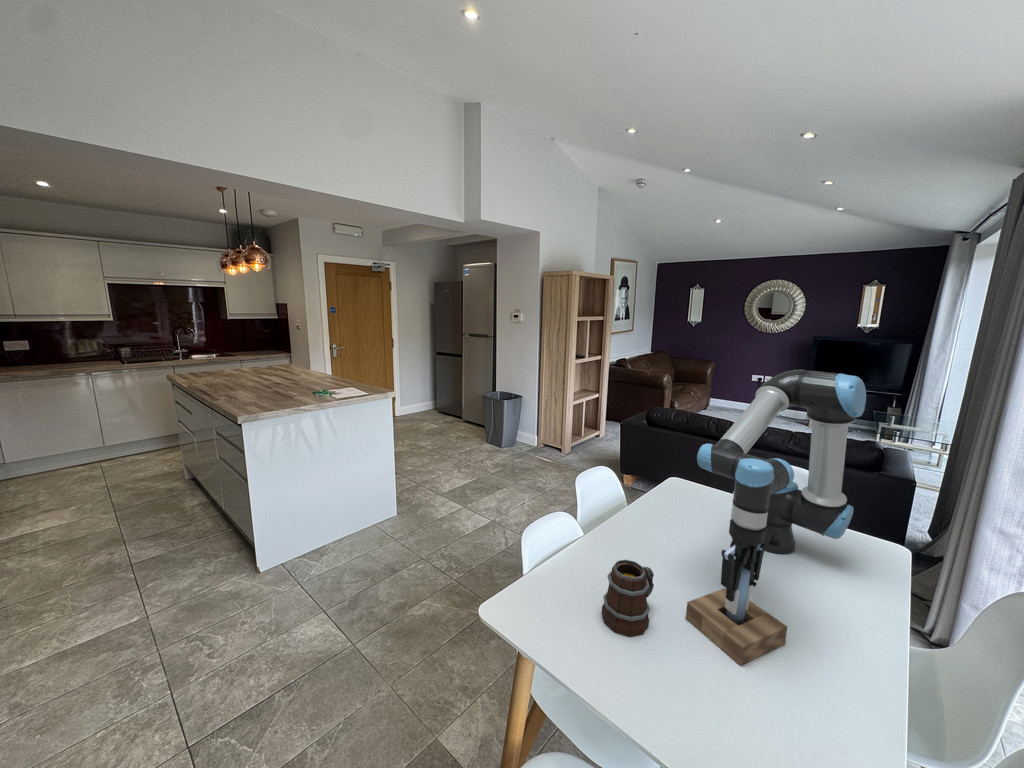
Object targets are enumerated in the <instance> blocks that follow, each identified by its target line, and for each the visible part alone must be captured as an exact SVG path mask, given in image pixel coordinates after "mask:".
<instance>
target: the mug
mask: <svg viewBox="0 0 1024 768" xmlns="http://www.w3.org/2000/svg"><path fill="white" fill-rule="evenodd" d="M654 576H655V575H654V571H653V570H652V568H651V567H648V566H642V565H641V564H640V563H638V562H637V561H634V560H630V559H622V560H621V559H620V560H617V561H616V562H615V563H614V564H613V566H612V567H611V571H610V572H609V573H607V579H608V587H607V591H606V593H605V594H603V604H602V606H601V615H602V619H603V620H602V621H603V623H604V624H605V625H606V626H607V627H608V628H609V629H611V630H612V632H614V633H616V634H620V635H623V636H626V637H629V638H631V637H636V636H640V635H644V634H645V633H646V630H647V629H648V628H649V625H650V618H649V612H650V610H651V609H650V606H649V602H648V599H647V598H649V596H650V595H651V594H652V593H653V590H654V588H655V585H654V583H653V579H654Z"/></svg>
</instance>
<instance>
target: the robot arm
mask: <svg viewBox="0 0 1024 768" xmlns="http://www.w3.org/2000/svg"><path fill="white" fill-rule="evenodd" d="M754 396H755V398H754V399H753V400H752V401H751V403H750V404H749V405H748V406H747V407H746V409H745V410H743V412H742V413H741V414H740V416H739V417H738V418H737V419H736V421H734V422H733V424H732V425H731V426H730V427H729V429H728V430H727V431H726V432H725V433H724V434H723V436H722V437H721V438H720V439H719V440H718V441H717V442H716V444H713V443H705V444H704V443H703V444H702V445H701V446H700V447H699V448H698V452H697V455H696V461H697V465H698V466H699V468H701V469H703V470H706V471H708V472H710V473H711V474H716V475H720V476H721V477H722V476H723V477H726V478H729V479H732V480H734V488H733V489H734V490H733V495H732V496H733V497H732V498H733V499H732V506H731V512H730V513H731V514H730V521H729V528H728V534H729V536H730V537H731V539H732V540H731V543H730V545H729V549H727V550H725V549H722V550H721V557H722V559H721V562H722V563H721V573H720V574H721V576H720V585H721V586H723V587H724V588H727V590H726V602H725V608H726V609H727V610H729V611H730V612H731V613H733V614H734V615H735V614H736V613H737V606H738V598H739V591H740V590H738V589H737V588H738V584H739V580H740V576H741V573H742V569H743V566H744V567H745V568H747V569H749V570H750V572H751V573H750V581H749V588H748V595H747V603H746V610H747V609H748V605H749V600H750V597H751V590H752V587H754V588H755V587H757V585H758V584H757V582H758V581H759V580H760V575H761V569H762V564H763V563H762V562H763V558H764V553H765V551H766V552H769V553H773V554H777V555H778V554H779V555H787V554H792V553H793V552H794V551H795V549H796V540H795V536H794V531H793V525H796V526H798V527H801V528H804V529H805V530H809V531H811V532H814V533H816V534H819V535H821V536H824V537H829V538H830V539H835V540H837V539H840V538H842V536H844V534H845V533H846V530H847V528H848V527H849V525H850V523H851V520H852V518H853V515H854V507H853V505H851V504H847V502H848V498H847V496H846V495H845V494H844V493H843V492H842V490H843V481H844V480H843V479H844V472H845V471H844V470H845V460H846V459H845V458H846V452H847V449H846V448H847V439H848V430H849V425H850V424H853V423H854V422H855V421H856V419H857V418H860V417H861V416H862V415H863V414H864V412H865V409H866V403H867V390H866V385H865V383H864V381H863V380H862V379H861V378H860V377H859V376H857V375H850V374H845V373H836V372H827V371H826V372H825V371H816V370H809V369H807V370H806V369H792V370H787V371H785V372H781V373H779V374H777V375H775V376H772V377H771V378H769V379H768V380H766V381H765V382H764V383H763V384H762V385H761V386H759V388H758V389H757V390H756V392H755V395H754ZM789 407H797V408H802V409H806V417H807V419H809V420H810V421H811V422H812V423H811V434H810V446H809V447H810V450H809V451H810V452H809V462H808V463H809V464H808V475H807V476H808V477H807V486H805V487H803V488H802V489H799V485H798V483H797V482H794V478H795V472H794V469H793V467H792V466H791V464H790V463H789V462H788V461H786V460H784V459H781V458H777V457H776V458H775V457H774V458H769V459H765V458H762V457H758V456H755V455H751V454H748V453H749V451H750V450H751V448H752V447H753V446H754V445H755V444H756V442H758V440H759V438H760V437H761V436H762V435H763V433H764V432H765V431H766V429H767V428H768V427H769V425H770V424H771V423H772V422H773V421H774V420H775V418H776V417H777V416H778V414H779V413H782V412H785V411H786V410H788V408H789ZM755 581H757V582H755Z"/></svg>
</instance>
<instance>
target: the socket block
mask: <svg viewBox="0 0 1024 768" xmlns="http://www.w3.org/2000/svg"><path fill="white" fill-rule="evenodd" d="M726 590H727V588H725V587H724V588H721V589H720V590H717V591H713V592H711V593H708V594H706V595H703V596H700V597H697V598H694V599H692V600H689V601H687V603H686V612H685V620H686V621H687V622H689V623H690V624H691V625H692V626H693V627H694V628H695V629H697V630H698V631H699V632H700V633H701V634H702V635H704V636H705V637H706V638H707V639H709V641H711V642H712V643H713V644H714V645H715V646H716V647H717V648H719V649H720V650H721V651H722V652H723V653H724V654H726V656H728V657H729V658H730V659H732V660H733V661H734V662H735V663H736V664H738V666H739V667H742V666H743V665H746V664H747V663H750V662H752V661H754V660H756V659H759V658H760V657H763V656H764V655H767V654H769V653H770V652H772V651H774V650H777V649H778V648H781V647H783V646H785V644H786V640H787V639H786V638H787V633H788V632H787V631H788V625H786V624H784V623H783V622H782V621H780V620H778V619H777V618H775V617H774V616H773V615H772V614H770V613H769V612H768V611H765V610H764V609H762V608H761V607H760V606H758V605H757V604H755V603H754V602H752V600H750V599H749V605H748V609H747V610H745V617H744V623H743V624H741V625H737V624H736V623H734V622H733V621H732V620H730V619H729V618H728V617H726V612H727V609H726V608H725V602H726Z"/></svg>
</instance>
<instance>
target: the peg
mask: <svg viewBox="0 0 1024 768" xmlns="http://www.w3.org/2000/svg"><path fill="white" fill-rule="evenodd" d="M750 573H751V572H750V570H749V569H747V568H745V567H744V566H743V569H742V573H741V576H740V580H739V584H738V588H737V589H738V590H740V591H739V598H738V606H737V613H736V614H735V615H734V614H733V613H731V612H730V611H729V610H727V612H726V617H728V618H729V619H730V620H732V621H733V622H734V623H736V624H737V625H741V624H743V623H744V617H745V610H746V603H747V595H748V588H749V581H750Z"/></svg>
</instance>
